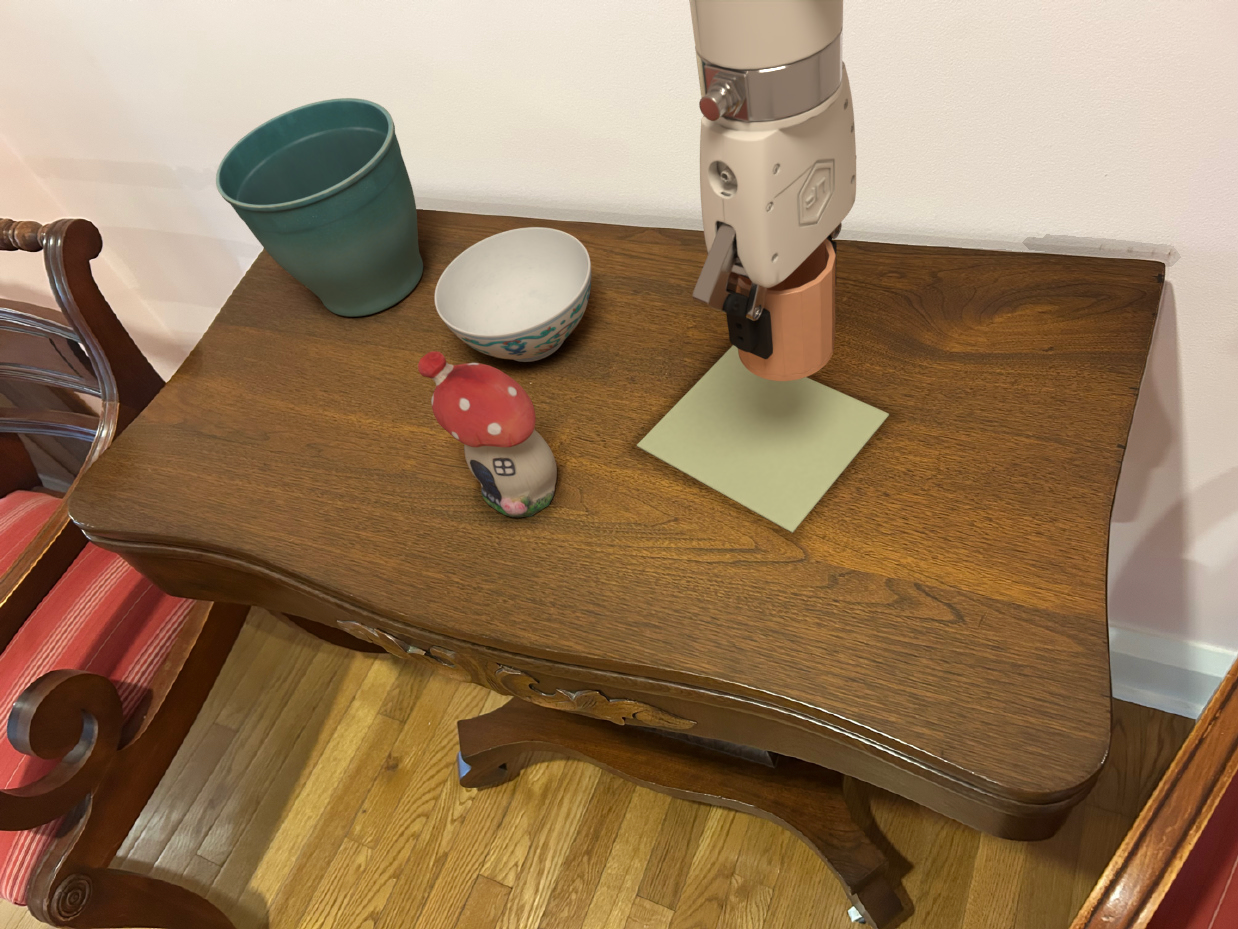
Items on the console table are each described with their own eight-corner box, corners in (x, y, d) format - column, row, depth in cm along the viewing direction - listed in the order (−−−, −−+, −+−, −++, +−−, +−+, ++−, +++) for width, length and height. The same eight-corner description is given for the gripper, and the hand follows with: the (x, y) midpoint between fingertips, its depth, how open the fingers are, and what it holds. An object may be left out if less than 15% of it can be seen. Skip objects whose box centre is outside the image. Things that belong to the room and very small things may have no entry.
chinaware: (448, 321, 89) (420, 263, 83) (580, 268, 90) (562, 207, 84) (481, 416, 80) (453, 358, 74) (628, 356, 81) (612, 294, 75)
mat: (889, 415, 71) (889, 413, 71) (792, 533, 66) (792, 532, 65) (733, 346, 79) (733, 344, 79) (636, 446, 74) (636, 445, 74)
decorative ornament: (460, 481, 75) (392, 362, 64) (516, 435, 77) (460, 313, 66) (524, 538, 70) (463, 420, 59) (582, 487, 72) (534, 364, 61)
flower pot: (480, 240, 97) (426, 100, 84) (397, 351, 88) (321, 214, 75) (357, 224, 104) (288, 93, 91) (268, 325, 95) (178, 196, 82)
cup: (853, 334, 61) (855, 243, 55) (799, 395, 58) (795, 307, 52) (773, 302, 64) (767, 214, 58) (719, 359, 62) (706, 273, 56)
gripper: (728, 174, 40) (754, 419, 54) (919, -1, 46) (898, 258, 60) (611, 137, 44) (663, 374, 58) (801, -19, 50) (808, 228, 64)
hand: (783, 314), depth 59 cm, fingers closed on cup, 6 cm apart
